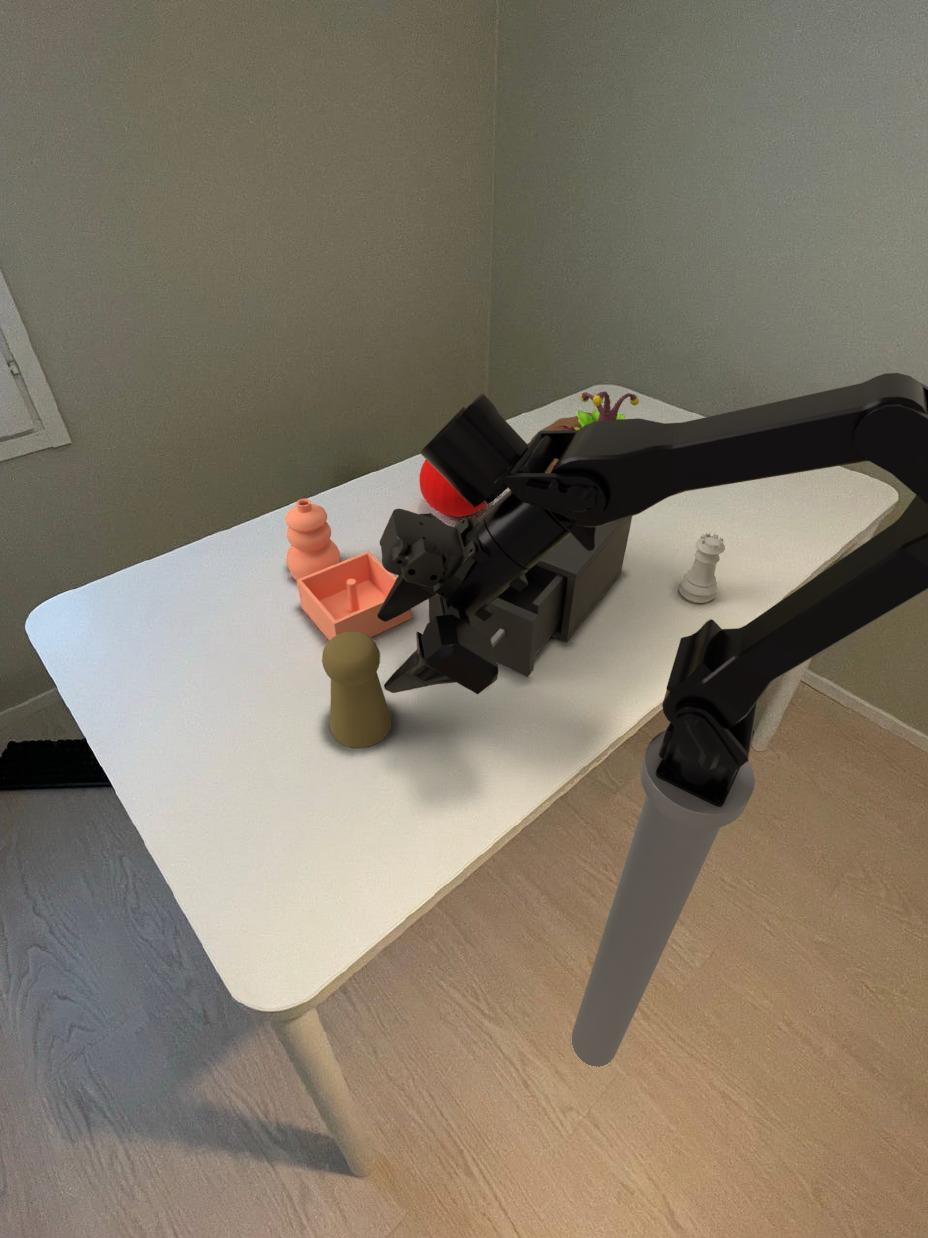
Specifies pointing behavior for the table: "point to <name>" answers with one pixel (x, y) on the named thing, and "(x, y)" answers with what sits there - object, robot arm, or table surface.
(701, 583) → the rook chess piece
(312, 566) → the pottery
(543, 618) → the dark grey drawer
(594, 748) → the table surface
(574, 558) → the dark grey drawer box
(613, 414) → the plant
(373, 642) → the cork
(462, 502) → the tomato
